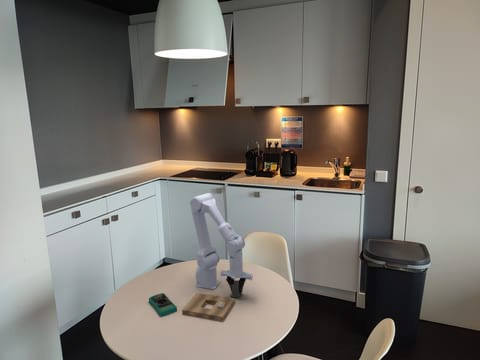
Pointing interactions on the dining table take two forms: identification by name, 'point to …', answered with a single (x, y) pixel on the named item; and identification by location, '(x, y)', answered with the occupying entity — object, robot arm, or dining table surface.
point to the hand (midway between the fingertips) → (236, 292)
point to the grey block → (235, 289)
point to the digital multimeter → (162, 304)
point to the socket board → (216, 313)
